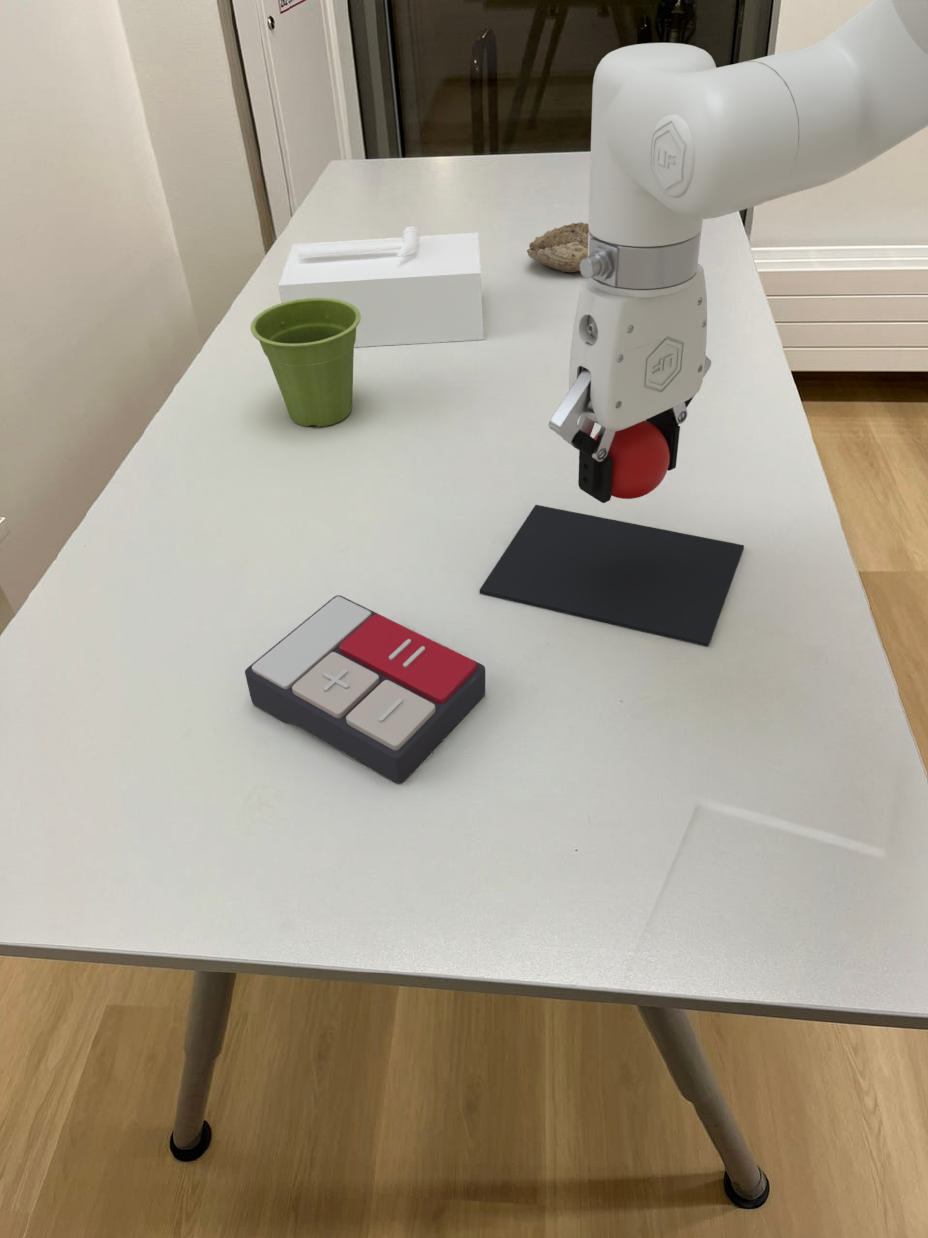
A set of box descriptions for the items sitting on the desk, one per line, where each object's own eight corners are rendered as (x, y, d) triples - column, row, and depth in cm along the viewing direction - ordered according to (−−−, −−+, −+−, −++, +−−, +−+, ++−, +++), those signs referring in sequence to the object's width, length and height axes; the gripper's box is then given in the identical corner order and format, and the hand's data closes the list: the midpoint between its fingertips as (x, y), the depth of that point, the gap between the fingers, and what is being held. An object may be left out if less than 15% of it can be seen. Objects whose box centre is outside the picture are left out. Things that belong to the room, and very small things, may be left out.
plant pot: (249, 427, 108) (227, 333, 101) (308, 382, 116) (292, 291, 108) (335, 448, 103) (319, 350, 96) (391, 399, 111) (381, 306, 104)
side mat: (743, 548, 86) (744, 544, 86) (708, 646, 76) (708, 643, 76) (535, 507, 93) (535, 504, 92) (479, 593, 83) (479, 589, 83)
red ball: (674, 478, 79) (682, 409, 75) (654, 521, 74) (660, 449, 70) (600, 465, 81) (603, 397, 77) (576, 505, 77) (578, 435, 72)
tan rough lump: (540, 274, 145) (510, 267, 137) (545, 224, 143) (515, 214, 135) (609, 277, 140) (582, 270, 132) (614, 225, 138) (588, 215, 130)
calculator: (397, 752, 65) (239, 664, 71) (400, 791, 68) (249, 703, 74) (488, 659, 71) (336, 585, 78) (487, 698, 74) (341, 624, 81)
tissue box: (483, 339, 122) (480, 253, 115) (290, 350, 123) (274, 266, 116) (480, 295, 133) (477, 214, 126) (303, 306, 134) (289, 226, 127)
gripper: (584, 307, 59) (577, 541, 71) (770, 237, 66) (736, 459, 78) (509, 274, 64) (514, 498, 76) (691, 212, 71) (670, 425, 83)
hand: (627, 477), depth 77 cm, fingers closed on red ball, 6 cm apart
